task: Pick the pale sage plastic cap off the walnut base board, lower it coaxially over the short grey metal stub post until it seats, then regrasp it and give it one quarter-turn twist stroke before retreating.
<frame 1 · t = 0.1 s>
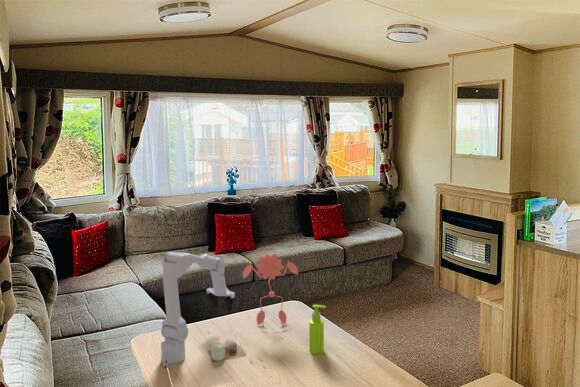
hand: (223, 309, 223), 11 cm above the table, tool pointing down, fingers open, 7 cm apart
figurine: (271, 326, 229), on the table
soap dispenser: (318, 351, 204), on the table
cap: (218, 357, 198), point 1 cm above the table, touching post base
post base: (227, 355, 201), on the table
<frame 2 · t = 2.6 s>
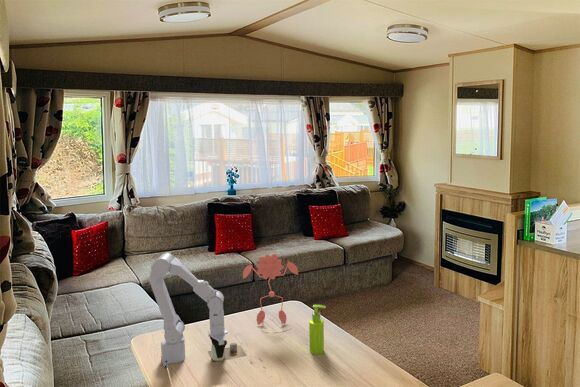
hand: (218, 354, 198), 2 cm above the table, tool pointing down, fingers closed on cap, 5 cm apart
cap: (218, 357, 198), point 1 cm above the table, touching gripper, post base
everything else where it was.
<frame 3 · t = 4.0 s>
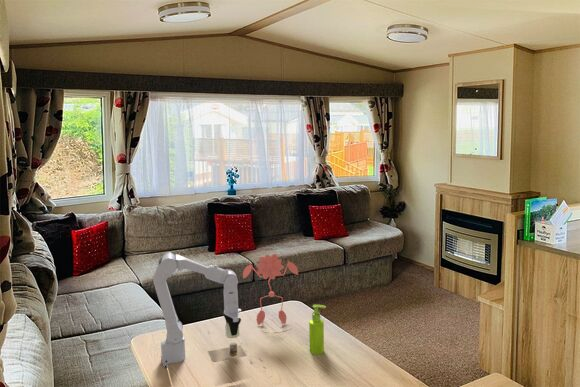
hand: (232, 332, 202), 9 cm above the table, tool pointing down, fingers closed on cap, 5 cm apart
cap: (232, 335, 202), point 8 cm above the table, touching gripper
everything else where it was.
when the fingers open (4 cm above the table, at t = 5.6 s): cap drops 1 cm, resting on post base.
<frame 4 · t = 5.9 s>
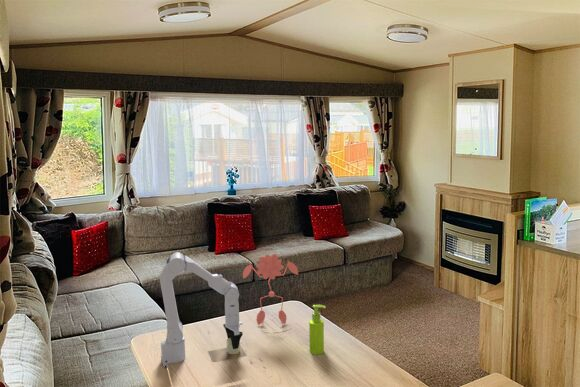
hand: (233, 344, 203), 4 cm above the table, tool pointing down, fingers open, 7 cm apart
cap: (233, 351, 203), point 1 cm above the table, touching post base
everything else where it was.
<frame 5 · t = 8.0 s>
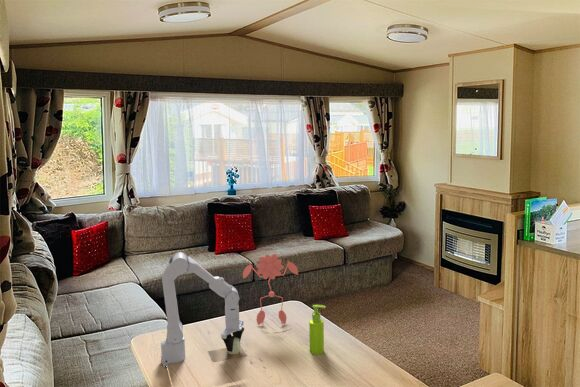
hand: (233, 347, 203), 2 cm above the table, tool pointing down, fingers closed on cap, 5 cm apart
cap: (233, 351, 203), point 1 cm above the table, touching gripper, post base
everything else where it was.
when the fingers open (3 cm above the table, at t = 9.4 s): cap stays where it is, resting on post base.
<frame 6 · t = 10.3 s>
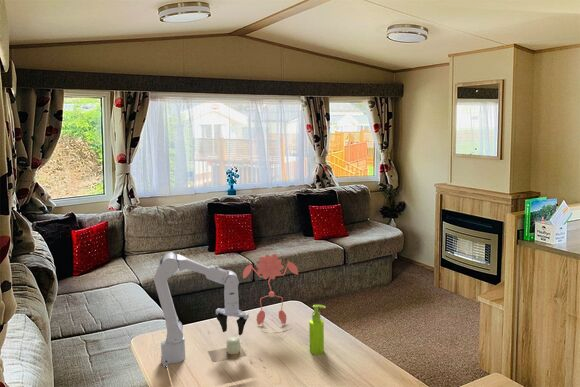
hand: (232, 332, 202), 9 cm above the table, tool pointing down, fingers open, 7 cm apart
cap: (233, 351, 203), point 1 cm above the table, touching post base
everything else where it was.
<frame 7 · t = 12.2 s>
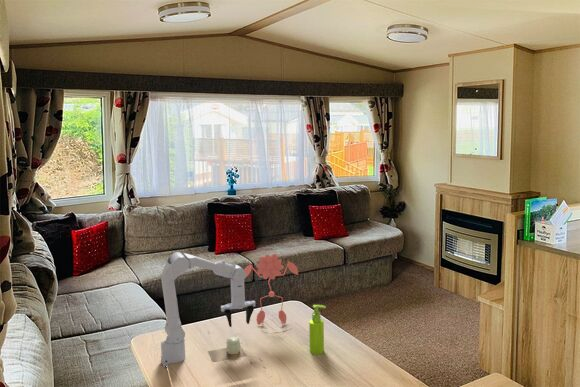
hand: (239, 324, 208), 10 cm above the table, tool pointing down, fingers open, 7 cm apart
nothing on the table moved.
at the end: cap 0.0 cm from the target spot on the post base, point 1.0 cm above the post base's base; cap tilted 0°; the gripper is holding nothing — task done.
